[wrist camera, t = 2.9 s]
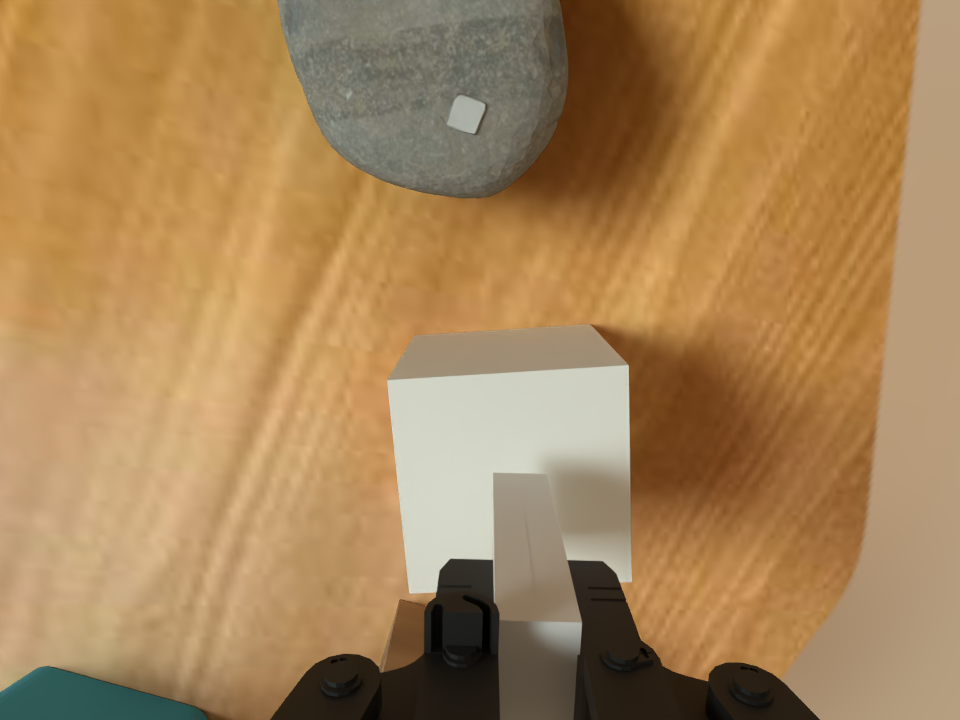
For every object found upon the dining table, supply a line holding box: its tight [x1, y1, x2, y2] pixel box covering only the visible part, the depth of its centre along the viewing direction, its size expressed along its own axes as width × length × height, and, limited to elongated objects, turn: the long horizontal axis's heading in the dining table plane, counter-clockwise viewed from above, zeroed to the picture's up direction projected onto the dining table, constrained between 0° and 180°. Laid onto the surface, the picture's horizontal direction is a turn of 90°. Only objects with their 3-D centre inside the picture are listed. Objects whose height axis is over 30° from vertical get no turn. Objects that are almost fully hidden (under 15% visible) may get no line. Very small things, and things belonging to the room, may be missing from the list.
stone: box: [277, 0, 568, 198], centre depth 20 cm, size 9×9×10 cm
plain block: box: [387, 324, 632, 594], centre depth 22 cm, size 7×7×7 cm
